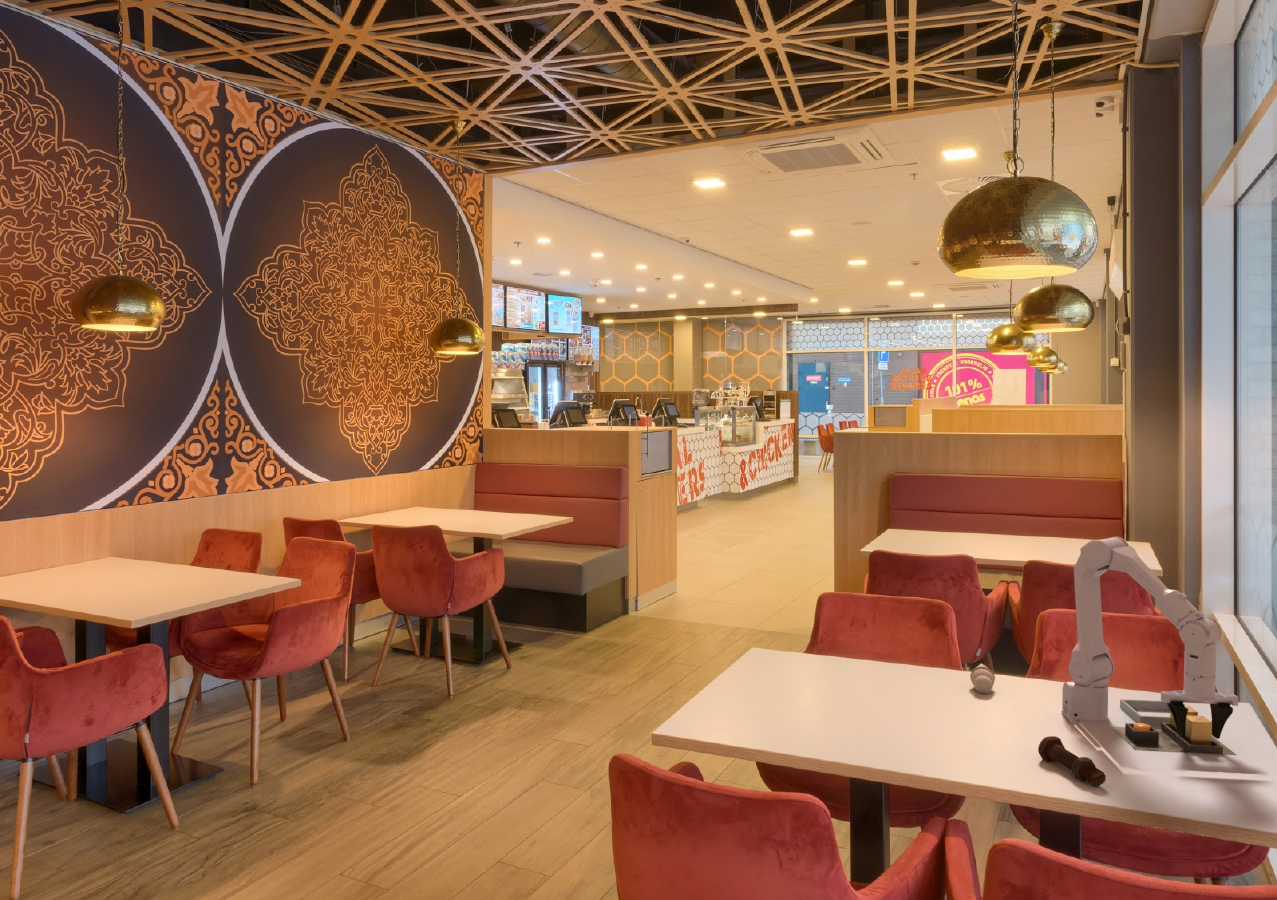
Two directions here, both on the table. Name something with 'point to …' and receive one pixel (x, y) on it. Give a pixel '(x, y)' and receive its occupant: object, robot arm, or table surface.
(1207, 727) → the billet
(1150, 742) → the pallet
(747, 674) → the table surface
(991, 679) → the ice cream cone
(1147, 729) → the button
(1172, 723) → the billet
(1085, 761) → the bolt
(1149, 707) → the tote
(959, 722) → the table surface
